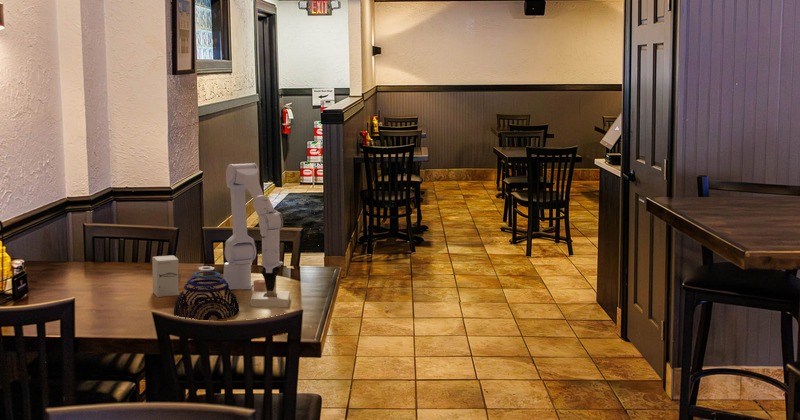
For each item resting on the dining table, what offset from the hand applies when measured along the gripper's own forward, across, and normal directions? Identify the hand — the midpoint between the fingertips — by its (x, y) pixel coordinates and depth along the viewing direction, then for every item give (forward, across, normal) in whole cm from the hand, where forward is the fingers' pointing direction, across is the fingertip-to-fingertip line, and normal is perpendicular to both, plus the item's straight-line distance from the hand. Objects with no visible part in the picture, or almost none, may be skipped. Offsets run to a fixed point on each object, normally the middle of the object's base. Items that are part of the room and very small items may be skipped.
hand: (270, 289), depth 286 cm
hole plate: (+4, 0, 0) cm, 4 cm away
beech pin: (+3, 0, 0) cm, 3 cm away
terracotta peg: (+5, +8, +4) cm, 10 cm away
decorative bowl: (+5, -11, +19) cm, 23 cm away
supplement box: (+5, +10, +36) cm, 38 cm away
